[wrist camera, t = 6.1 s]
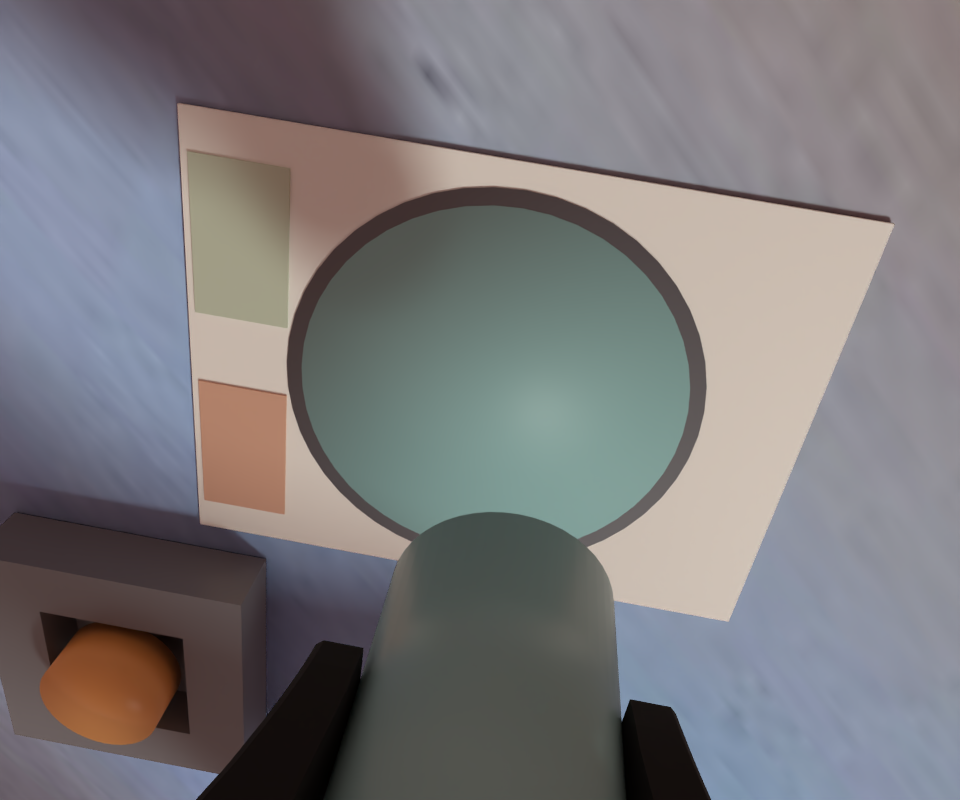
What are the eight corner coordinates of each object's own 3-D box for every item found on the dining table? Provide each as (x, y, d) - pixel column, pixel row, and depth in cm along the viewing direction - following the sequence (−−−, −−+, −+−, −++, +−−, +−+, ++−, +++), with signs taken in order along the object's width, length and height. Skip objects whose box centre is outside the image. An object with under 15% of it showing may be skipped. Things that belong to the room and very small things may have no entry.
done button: (184, 710, 25) (160, 754, 23) (78, 690, 25) (48, 732, 23) (178, 633, 23) (152, 674, 22) (64, 611, 23) (31, 651, 22)
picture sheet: (727, 618, 22) (728, 623, 22) (201, 521, 23) (199, 525, 23) (893, 223, 16) (895, 224, 16) (179, 102, 17) (175, 103, 17)
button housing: (265, 728, 27) (244, 779, 25) (50, 686, 27) (14, 734, 25) (266, 558, 23) (240, 605, 21) (14, 512, 23) (-31, 554, 22)
